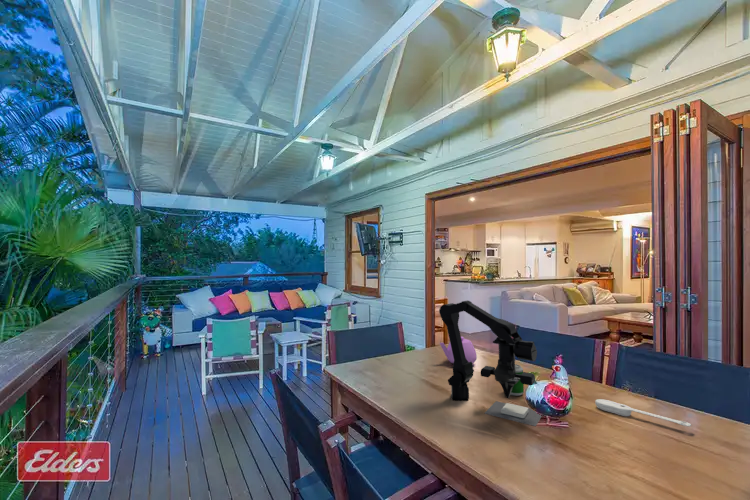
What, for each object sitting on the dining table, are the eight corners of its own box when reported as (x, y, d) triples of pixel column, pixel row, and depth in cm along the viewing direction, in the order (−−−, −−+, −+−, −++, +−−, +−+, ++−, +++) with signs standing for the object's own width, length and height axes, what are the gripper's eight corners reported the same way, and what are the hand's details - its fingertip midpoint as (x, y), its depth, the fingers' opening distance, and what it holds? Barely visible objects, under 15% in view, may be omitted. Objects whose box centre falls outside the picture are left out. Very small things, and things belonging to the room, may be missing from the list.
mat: (484, 414, 132) (484, 413, 132) (495, 402, 143) (495, 401, 143) (535, 427, 121) (535, 426, 121) (544, 412, 132) (544, 411, 132)
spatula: (693, 430, 117) (692, 422, 117) (689, 436, 113) (689, 427, 114) (598, 404, 139) (598, 397, 139) (593, 408, 135) (592, 401, 135)
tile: (501, 409, 131) (523, 414, 126) (506, 402, 137) (528, 407, 132) (501, 413, 131) (524, 419, 126) (506, 407, 137) (528, 412, 132)
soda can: (525, 397, 147) (524, 368, 147) (506, 396, 148) (505, 368, 149) (521, 391, 154) (521, 363, 154) (503, 390, 156) (503, 362, 156)
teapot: (434, 359, 206) (434, 333, 206) (467, 357, 208) (467, 332, 208) (445, 369, 186) (444, 341, 187) (481, 367, 188) (480, 339, 189)
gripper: (475, 357, 133) (475, 399, 132) (527, 365, 122) (528, 411, 121) (485, 351, 142) (486, 390, 141) (534, 358, 131) (536, 400, 130)
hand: (507, 397), depth 133 cm, fingers closed
